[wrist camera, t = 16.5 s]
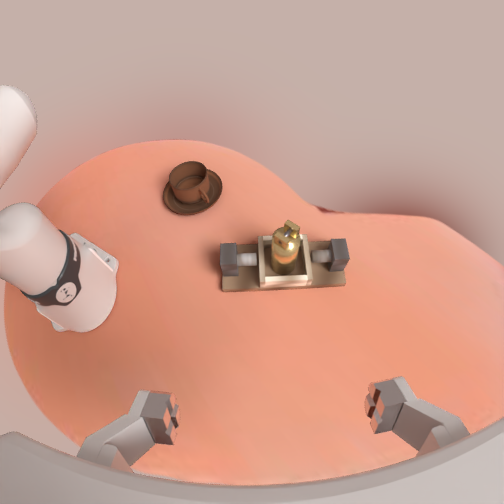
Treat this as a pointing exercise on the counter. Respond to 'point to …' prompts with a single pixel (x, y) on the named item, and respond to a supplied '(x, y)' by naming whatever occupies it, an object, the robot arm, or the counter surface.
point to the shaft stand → (264, 278)
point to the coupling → (285, 248)
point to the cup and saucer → (192, 188)
